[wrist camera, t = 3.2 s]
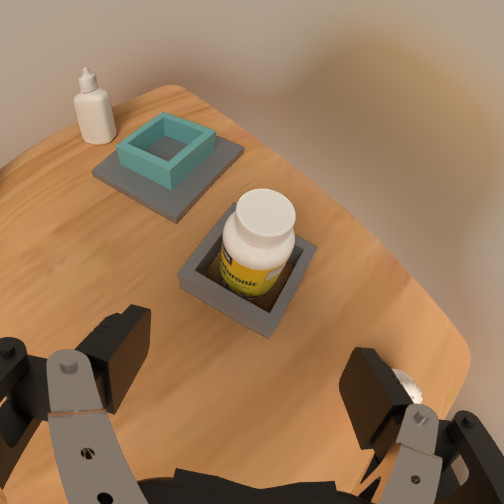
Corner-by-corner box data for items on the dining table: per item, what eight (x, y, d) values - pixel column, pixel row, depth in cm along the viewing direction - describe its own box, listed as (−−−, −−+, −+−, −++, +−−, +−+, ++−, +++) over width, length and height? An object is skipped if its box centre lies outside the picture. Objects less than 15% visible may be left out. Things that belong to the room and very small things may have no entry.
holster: (180, 287, 25) (177, 273, 22) (230, 220, 29) (233, 202, 27) (267, 338, 24) (275, 330, 21) (307, 262, 28) (317, 246, 26)
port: (93, 176, 30) (85, 152, 27) (163, 121, 37) (162, 99, 34) (176, 224, 28) (173, 198, 25) (243, 153, 35) (247, 129, 32)
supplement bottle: (206, 271, 26) (207, 203, 18) (248, 240, 28) (266, 169, 20) (246, 313, 24) (267, 261, 16) (286, 278, 27) (322, 216, 18)
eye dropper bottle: (104, 125, 36) (92, 58, 25) (120, 137, 34) (108, 64, 24) (80, 138, 33) (64, 71, 23) (95, 152, 32) (77, 78, 22)
